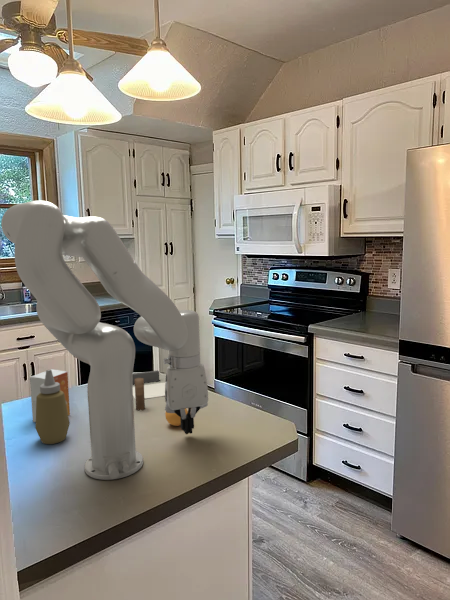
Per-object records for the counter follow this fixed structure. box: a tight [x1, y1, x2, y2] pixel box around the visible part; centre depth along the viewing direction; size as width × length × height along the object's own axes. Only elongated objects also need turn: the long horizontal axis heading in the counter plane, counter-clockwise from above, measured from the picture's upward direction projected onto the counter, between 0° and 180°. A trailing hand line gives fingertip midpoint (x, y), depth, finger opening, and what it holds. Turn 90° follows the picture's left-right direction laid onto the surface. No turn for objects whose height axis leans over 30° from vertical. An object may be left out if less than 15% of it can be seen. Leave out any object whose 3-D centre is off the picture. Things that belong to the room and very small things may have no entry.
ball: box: [164, 408, 188, 427], centre depth 123 cm, size 6×6×6 cm
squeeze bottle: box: [35, 369, 71, 445], centre depth 115 cm, size 8×8×18 cm
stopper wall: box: [133, 370, 160, 386], centre depth 160 cm, size 2×10×4 cm, turn 112°
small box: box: [29, 368, 71, 423], centre depth 129 cm, size 8×6×13 cm
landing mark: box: [133, 381, 165, 401], centre depth 151 cm, size 13×13×1 cm
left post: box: [134, 378, 146, 411], centre depth 135 cm, size 3×3×9 cm
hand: (187, 431), depth 115 cm, fingers closed
